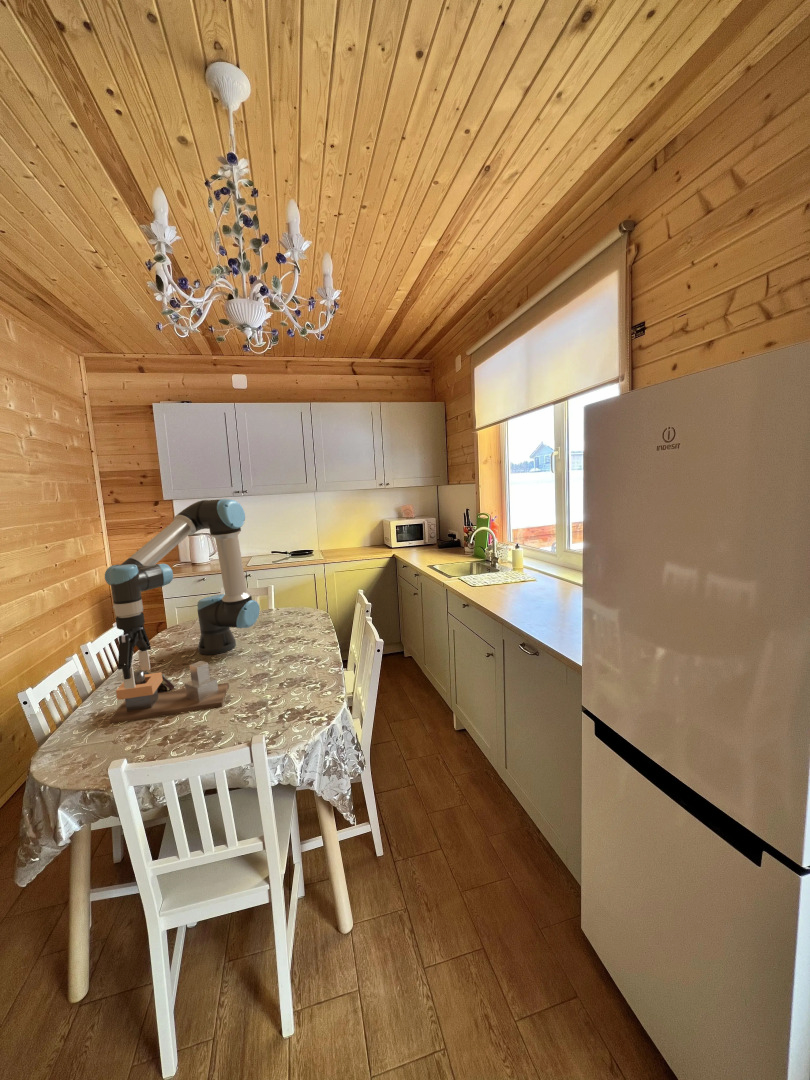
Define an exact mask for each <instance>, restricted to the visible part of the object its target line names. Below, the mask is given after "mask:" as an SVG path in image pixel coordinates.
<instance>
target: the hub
mask: <svg viewBox="0 0 810 1080" xmlns="http://www.w3.org/2000/svg"><path fill="white" fill-rule="evenodd" d="M209 667H210V666H209V662H206V661H203V660H199V661H197V662H194V663H191V664H189V672H190V678H191V679H190V680H189V681H188V682H185V683H184V687H185V689H186V696H187V698H189V699H191V700H194V701H196V702H199V703H200V702H202V701H204V700H206V699H208V698H210V697H212V696H214V695H216V694H218V693H219V692H218V679H217V678H216V677H212V676H210V669H209Z"/></svg>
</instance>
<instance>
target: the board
mask: <svg viewBox="0 0 810 1080" xmlns="http://www.w3.org/2000/svg"><path fill="white" fill-rule="evenodd" d="M217 684H218V683H217ZM229 688H230V683H229V682H226V683H219V684H218V692H219V693H218V694H216V695H214V696H212V697H210V698H208V699H206V700H204V701H202V702H200V703H199V702H196V701H194V700H191V699H189V698H187V696H186V689H178V690H177V689H176V690H168V692H162V693H158V699H157V700H156V702H155V703H154V705H153V706H152V708H148V709H141V710H135V711H128V712H127V708H126V702H125V700H124V701H123V702H122V704H121V705H120V706H119V708H118V709H117V710H116V711H115V712H114V714H113V715H112V716H111V717H110V719H109V723H110V725H113V724H112V723H114V724H119V722H120V723H126V722H125V721H127V722H131V721H132V722H133V721H138V720H145V719H150V718H156V717H157V718H158V717H164V715H165V716H169V715H170V714H171V715H176V714H175V713H177V714H182V713H181V712H184V713H189V712H188V711H190V712H194V711H195V710H197V711H202V709H203V710H208V709H213V708H214V709H215V707H216V708H221V707H223V704H224V701H225V699H226V697H225V696H226V695H227V694H228V690H229ZM226 693H227V694H226ZM195 712H196V711H195Z"/></svg>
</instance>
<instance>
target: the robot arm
mask: <svg viewBox="0 0 810 1080" xmlns="http://www.w3.org/2000/svg"><path fill="white" fill-rule="evenodd" d="M172 520H173V521H172V522H171V523H169V524H168V525H167V526H166V527H165V528H163V529H162V530H161V531H160V532H159V533H157V534H156V535H155V536H154V537H152V538H151V539H150V540H149V541H148V542H147V543H145V544H144V545H143V546H141V547H140V548H139V549H138V550H137V551H135V553H133V554H132V555H131V556H129V557H128V558H127V559H126V560H124V561H123V562H121V563H120V564H115V565H114V564H113V565H111V566H109V567H108V568H107V569H106V570H105V571H104V581H105V582H106V584H108V585H109V586H110V588H111V589H110V590H111V595H112V602H113V605H112V609H113V610H114V615H115V616H116V617H115V622H116V623H115V624H116V629H117V630H122V631H123V635H118V643H119V644H118V658H117V660H118V661H117V670H118V671H119V670H122V671H121V672H122V679H123V682H124V687H125V689H129V688H135V679H134V672H135V671H134V666H132V663H133V655H134V649H135V647H137V649H138V650H139V651H138V652H137V653H138V660H139V667H140V670H143V671H149V670H151V663H150V655H149V654H150V653H149V650H151V649H152V647H151V646H152V645H151V642H150V640H149V637H148V634H147V632H146V629H145V625H144V624H145V623H146V622H145V614H144V613H143V612H144V606H143V599H142V592H145V591H149V590H153V589H154V590H155V589H157V588H162V587H164V586H167V585H169V584H171V583H172V581H173V579H174V571H173V569H172V568H171V566H169V564H166V563H159V561H162V559H163V558H164V557H166V556H167V555H168V554H169V553H170V552H171V551H172V550H173V549H175V548H176V546H178V545H179V544H180V543H181V542H182V541H184V540H185V539H186V538H187V537H188V536H194V534H196V533H197V532H198V531H201V530H204V529H205V530H206V529H207V530H208V529H209V534H210V536H212V537H213V538H214V539H215V545H216V550H217V556H218V557H217V558H218V562H219V568H220V573H221V574H220V575H221V580H222V586H223V592H224V593H222V594H214V595H211V596H207V597H203V598H202V599H200V600H198V601H197V603H196V606H197V609H196V610H197V616H198V622H199V629H200V635H199V641H198V644H197V645H198V646H197V649H198V653H199V654H200V655H202V656H211V655H219V654H223V653H226V652H229V651H231V650H233V649H234V648H235V647H236V646H237V644H236V642H237V640H236V638H235V637H234V635H233V632H232V630H231V628H235V629H247V628H248V629H249V628H251V627H253V626H254V625H255V624H256V622H257V620H258V618H259V616H260V610H261V608H260V604H259V602H257V601H256V600H255V599H253V597H252V593H251V592H250V591H248V590H247V584H246V578H245V571H244V566H243V559H242V558H243V557H242V552H241V548H240V541H239V540H240V539H239V534H240V533H241V532H242V528H241V527H243V526H244V524H245V521H246V513H245V509H244V507H243V505H241V503H239V501H237V500H235V499H231V498H230V499H228V498H223V499H222V498H221V499H220V498H219V499H203V500H202V499H201V500H199V501H196V502H194V503H192V504H190V505H189V506H187V507H186V508H184V509H183V510H181V511H180V512H178V513H177V514H176V515H175V516H174V517H173V519H172ZM158 563H159V564H158Z"/></svg>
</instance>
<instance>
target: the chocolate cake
mask: <svg viewBox="0 0 810 1080" xmlns="http://www.w3.org/2000/svg"><path fill="white" fill-rule="evenodd" d="M145 674H150V673H149V672H148V670H144V675H145ZM165 676H166V674H164V673H162V679H163V681H162V682H161V684H160V685H159V687H158V688H157V691H158V693H162V692H169V691H172V690H173V689H175V688H174V687H176V686H175V684H173V683H172V682H171V681H172V679H170V678H169V679H167V677H165Z"/></svg>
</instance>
